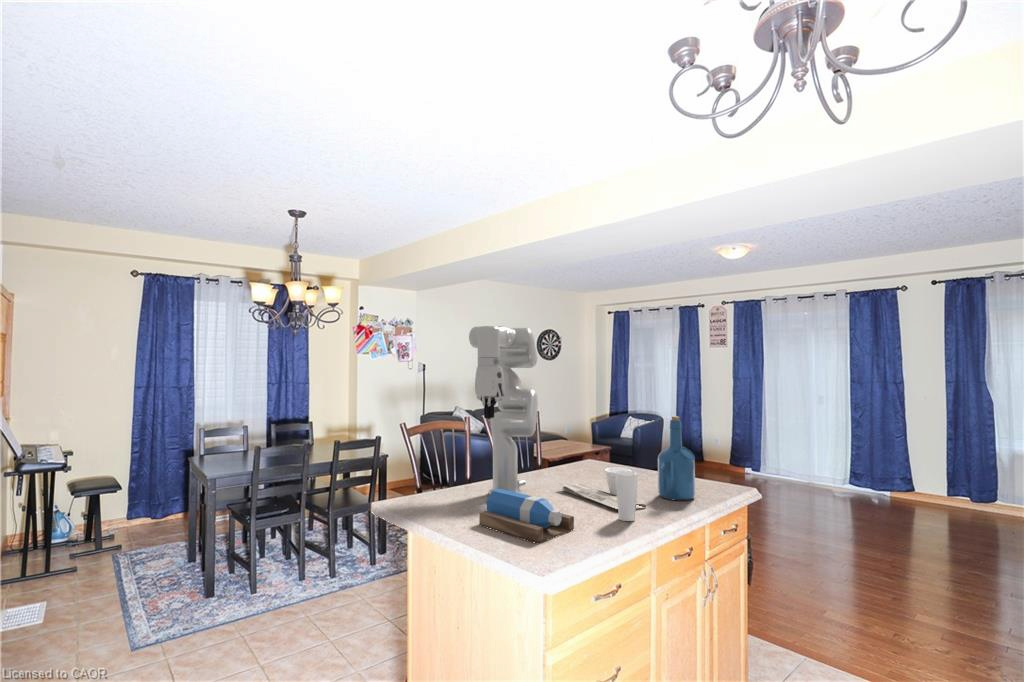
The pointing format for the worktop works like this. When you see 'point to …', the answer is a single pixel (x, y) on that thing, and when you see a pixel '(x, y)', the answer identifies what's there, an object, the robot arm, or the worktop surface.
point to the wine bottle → (676, 467)
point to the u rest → (525, 527)
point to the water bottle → (523, 508)
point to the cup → (613, 478)
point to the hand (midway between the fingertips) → (489, 417)
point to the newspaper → (594, 495)
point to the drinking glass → (626, 494)
